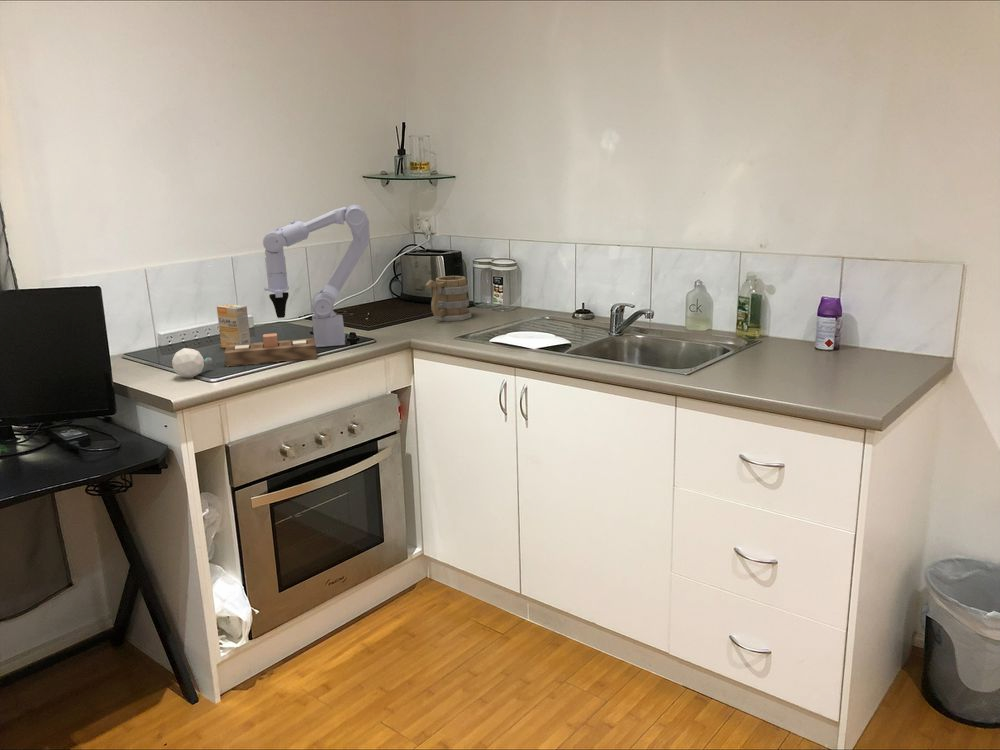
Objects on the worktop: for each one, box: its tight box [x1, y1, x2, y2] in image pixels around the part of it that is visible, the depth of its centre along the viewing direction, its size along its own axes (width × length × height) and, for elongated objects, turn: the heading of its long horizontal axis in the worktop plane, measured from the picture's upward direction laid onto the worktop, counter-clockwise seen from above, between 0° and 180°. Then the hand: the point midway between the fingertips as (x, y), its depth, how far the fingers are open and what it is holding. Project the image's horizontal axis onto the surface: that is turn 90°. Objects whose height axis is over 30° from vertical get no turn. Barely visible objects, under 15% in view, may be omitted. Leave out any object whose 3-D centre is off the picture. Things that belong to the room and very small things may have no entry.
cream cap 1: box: [235, 345, 250, 350], centre depth 231 cm, size 4×4×4 cm
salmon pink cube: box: [262, 332, 279, 348], centre depth 233 cm, size 4×4×4 cm
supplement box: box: [216, 303, 251, 349], centre depth 247 cm, size 8×5×13 cm, turn 62°
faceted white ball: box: [171, 347, 213, 379], centre depth 218 cm, size 8×8×12 cm
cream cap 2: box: [293, 340, 306, 345], centre depth 235 cm, size 4×4×4 cm
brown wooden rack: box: [224, 337, 318, 368], centre depth 233 cm, size 25×10×4 cm, turn 104°
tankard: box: [425, 275, 472, 322], centre depth 279 cm, size 20×13×15 cm, turn 144°
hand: (281, 317), depth 245 cm, fingers closed
